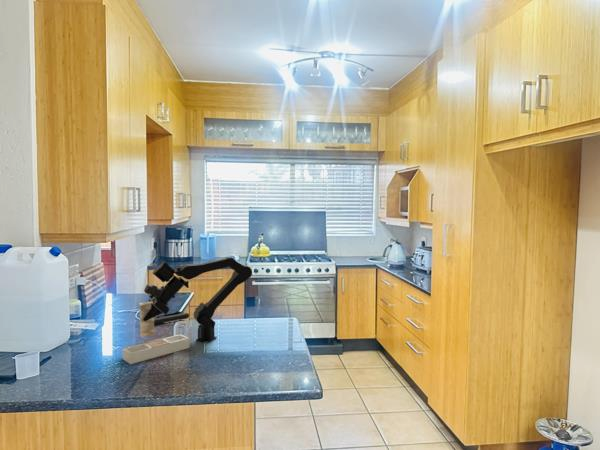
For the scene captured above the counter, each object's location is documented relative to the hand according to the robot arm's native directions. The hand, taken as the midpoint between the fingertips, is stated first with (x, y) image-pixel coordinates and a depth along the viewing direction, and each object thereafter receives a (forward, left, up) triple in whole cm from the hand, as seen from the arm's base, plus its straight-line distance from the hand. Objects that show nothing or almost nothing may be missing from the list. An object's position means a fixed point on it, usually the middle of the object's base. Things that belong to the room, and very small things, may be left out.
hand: (143, 319), depth 161 cm
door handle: (+22, -37, -13) cm, 45 cm away
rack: (-8, +1, -12) cm, 15 cm away
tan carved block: (-1, -1, -7) cm, 7 cm away
